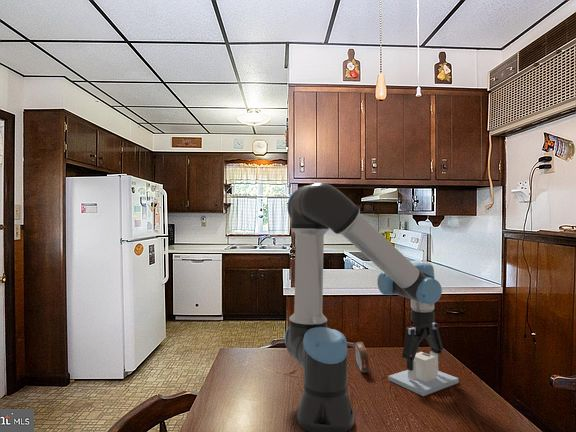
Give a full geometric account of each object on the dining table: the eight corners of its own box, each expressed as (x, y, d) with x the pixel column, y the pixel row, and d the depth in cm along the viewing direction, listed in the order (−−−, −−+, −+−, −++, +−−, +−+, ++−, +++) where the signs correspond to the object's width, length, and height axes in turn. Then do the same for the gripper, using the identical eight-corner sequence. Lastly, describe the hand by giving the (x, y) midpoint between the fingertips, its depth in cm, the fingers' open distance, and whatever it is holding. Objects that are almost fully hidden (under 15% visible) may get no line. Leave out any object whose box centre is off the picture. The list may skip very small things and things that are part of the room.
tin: (369, 376, 131) (369, 352, 131) (360, 376, 131) (360, 352, 131) (362, 360, 146) (362, 338, 146) (354, 360, 146) (354, 338, 146)
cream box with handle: (425, 382, 122) (424, 359, 122) (410, 375, 127) (409, 354, 127) (436, 378, 125) (436, 355, 126) (421, 372, 131) (421, 350, 131)
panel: (423, 396, 116) (423, 374, 116) (388, 380, 127) (388, 360, 127) (458, 382, 125) (458, 363, 125) (423, 369, 137) (422, 351, 137)
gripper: (408, 316, 117) (409, 388, 117) (453, 307, 130) (454, 371, 129) (389, 312, 124) (390, 379, 123) (434, 303, 136) (435, 364, 136)
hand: (423, 375), depth 126 cm, fingers open, 11 cm apart
